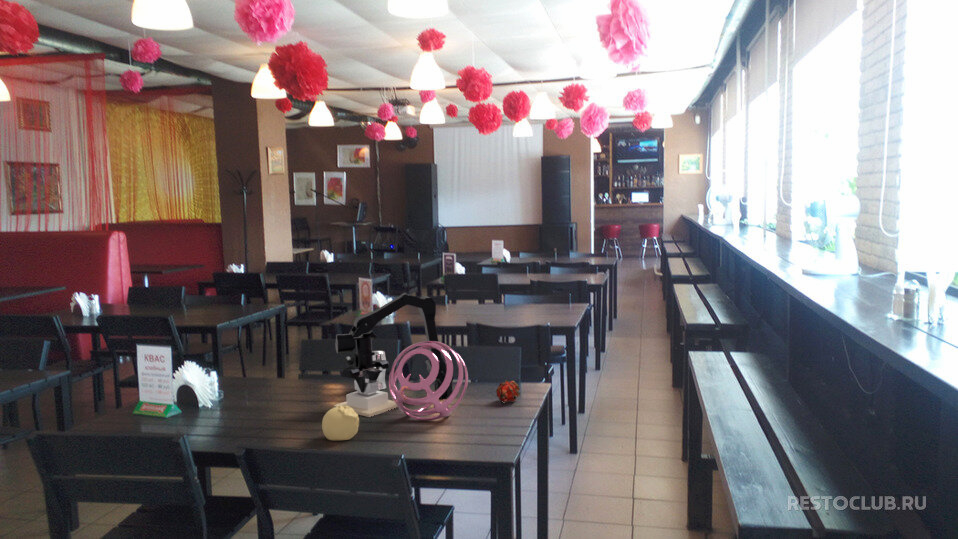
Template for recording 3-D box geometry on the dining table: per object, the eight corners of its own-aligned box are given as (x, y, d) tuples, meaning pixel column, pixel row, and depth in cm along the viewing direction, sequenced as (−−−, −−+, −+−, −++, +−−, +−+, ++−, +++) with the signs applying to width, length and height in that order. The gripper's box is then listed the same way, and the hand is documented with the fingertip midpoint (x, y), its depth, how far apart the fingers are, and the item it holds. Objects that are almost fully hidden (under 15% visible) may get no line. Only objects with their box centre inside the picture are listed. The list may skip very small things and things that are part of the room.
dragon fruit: (517, 401, 266) (504, 414, 256) (499, 387, 268) (486, 400, 257) (527, 385, 262) (515, 398, 252) (509, 371, 264) (497, 384, 254)
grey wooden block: (379, 400, 259) (378, 381, 259) (371, 403, 256) (370, 383, 256) (363, 397, 265) (362, 377, 264) (355, 399, 262) (354, 380, 261)
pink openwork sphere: (424, 348, 268) (399, 319, 245) (488, 370, 257) (468, 342, 234) (392, 415, 258) (363, 391, 235) (458, 441, 247) (433, 419, 224)
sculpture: (363, 440, 224) (361, 408, 223) (325, 446, 220) (323, 413, 219) (357, 430, 235) (355, 398, 234) (321, 435, 231) (318, 403, 230)
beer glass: (385, 389, 284) (383, 353, 283) (368, 390, 284) (366, 354, 283) (388, 385, 291) (386, 350, 290) (371, 386, 291) (369, 350, 290)
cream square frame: (401, 405, 261) (401, 392, 260) (369, 417, 248) (368, 402, 248) (366, 398, 273) (365, 385, 273) (333, 408, 261) (332, 394, 261)
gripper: (368, 343, 271) (371, 382, 273) (330, 352, 257) (333, 394, 258) (388, 346, 264) (391, 386, 265) (350, 355, 250) (353, 398, 251)
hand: (367, 391), depth 260 cm, fingers closed on grey wooden block, 4 cm apart
